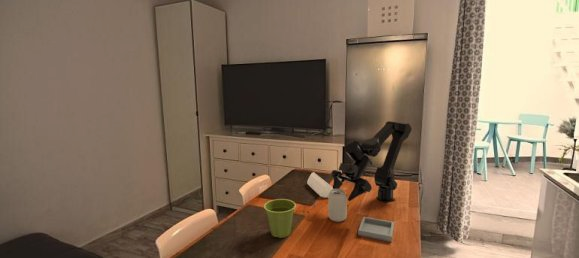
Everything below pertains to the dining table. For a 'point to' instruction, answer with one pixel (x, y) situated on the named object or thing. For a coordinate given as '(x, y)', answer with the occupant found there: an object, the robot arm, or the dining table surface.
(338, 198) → the can
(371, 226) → the tray
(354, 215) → the dining table surface
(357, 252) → the dining table surface
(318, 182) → the crystal
